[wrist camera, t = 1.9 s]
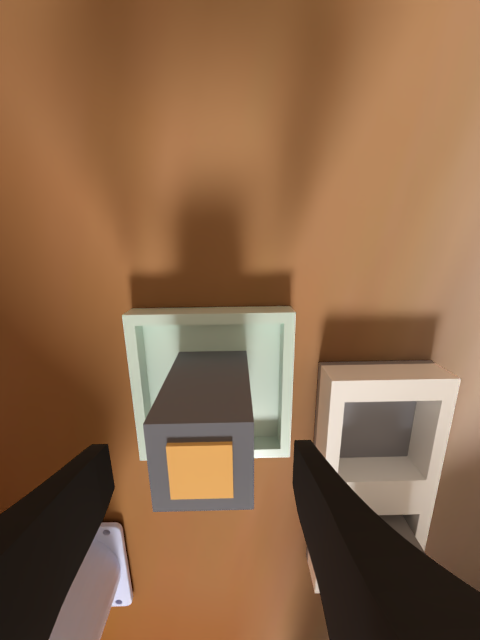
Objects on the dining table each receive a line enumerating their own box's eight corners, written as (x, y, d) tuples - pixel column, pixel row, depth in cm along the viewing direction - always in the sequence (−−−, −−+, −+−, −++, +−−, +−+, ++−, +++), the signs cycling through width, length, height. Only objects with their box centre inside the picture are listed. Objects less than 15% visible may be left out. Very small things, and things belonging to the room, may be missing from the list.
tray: (147, 442, 19) (140, 460, 18) (132, 308, 17) (121, 315, 15) (285, 439, 19) (289, 457, 18) (290, 305, 17) (295, 312, 15)
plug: (183, 411, 18) (151, 516, 11) (178, 351, 17) (141, 428, 10) (246, 409, 18) (254, 513, 11) (246, 350, 17) (254, 425, 10)
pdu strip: (306, 555, 22) (314, 593, 20) (318, 362, 18) (332, 381, 16) (396, 552, 22) (416, 590, 20) (430, 359, 18) (461, 378, 16)
